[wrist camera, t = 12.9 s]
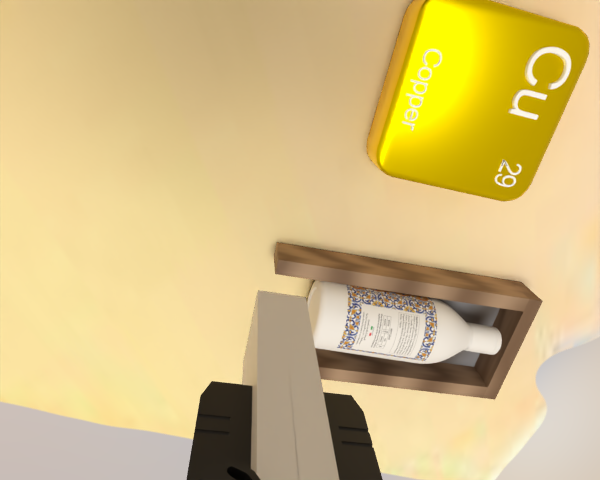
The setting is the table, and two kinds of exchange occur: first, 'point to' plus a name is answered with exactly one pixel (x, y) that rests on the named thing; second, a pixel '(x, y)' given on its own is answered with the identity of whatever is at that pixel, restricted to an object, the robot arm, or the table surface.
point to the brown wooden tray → (429, 283)
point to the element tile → (474, 96)
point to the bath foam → (392, 325)
